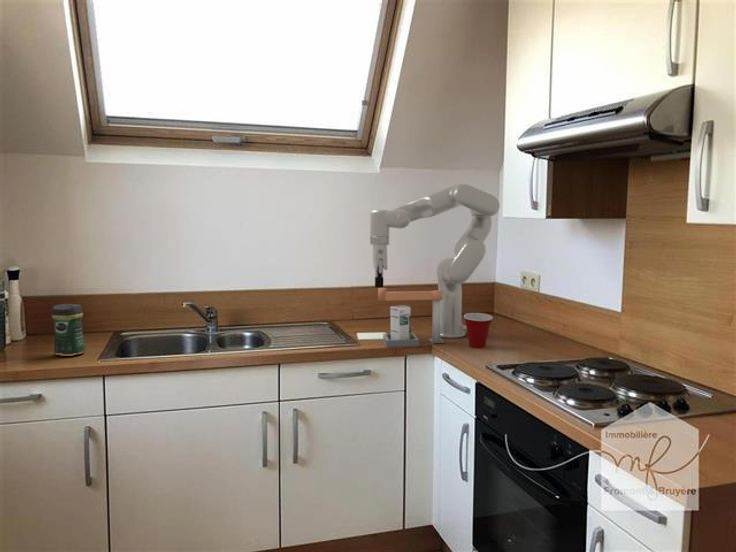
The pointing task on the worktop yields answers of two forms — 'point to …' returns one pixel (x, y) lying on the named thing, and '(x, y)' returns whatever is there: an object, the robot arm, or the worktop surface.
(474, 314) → the plastic cup
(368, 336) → the mat
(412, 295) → the orange bar
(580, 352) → the worktop surface
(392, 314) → the syrup box
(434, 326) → the socket
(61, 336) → the coffee jar
